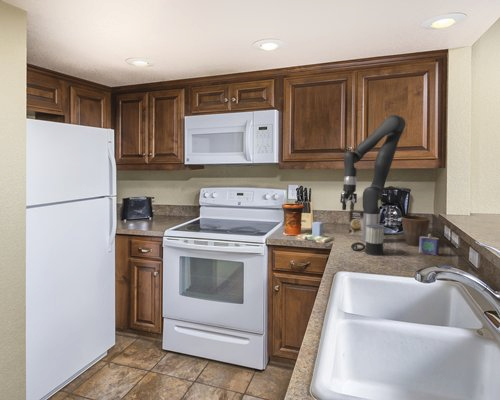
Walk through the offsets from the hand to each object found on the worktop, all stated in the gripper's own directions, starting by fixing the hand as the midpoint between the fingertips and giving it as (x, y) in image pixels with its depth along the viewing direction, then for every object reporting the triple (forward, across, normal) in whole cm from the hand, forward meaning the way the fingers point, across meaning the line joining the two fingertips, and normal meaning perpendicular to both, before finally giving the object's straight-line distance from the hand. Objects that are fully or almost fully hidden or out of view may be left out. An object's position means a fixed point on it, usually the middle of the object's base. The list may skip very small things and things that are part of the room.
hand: (348, 209), depth 216 cm
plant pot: (+18, +17, -35) cm, 42 cm away
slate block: (+17, -13, +12) cm, 25 cm away
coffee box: (+17, +16, +3) cm, 24 cm away
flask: (+19, +1, -49) cm, 53 cm away
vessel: (+19, -14, +32) cm, 40 cm away
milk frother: (+20, -19, -26) cm, 38 cm away
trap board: (+19, -16, +12) cm, 28 cm away
